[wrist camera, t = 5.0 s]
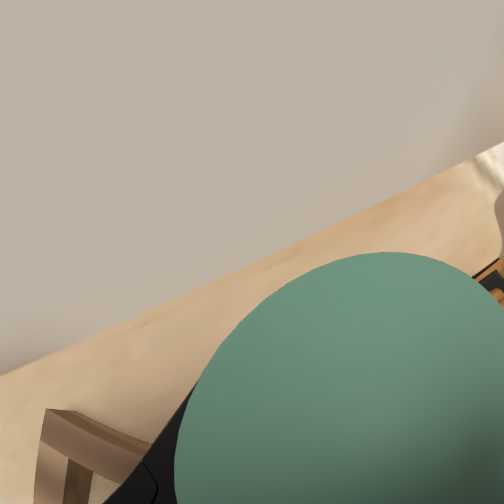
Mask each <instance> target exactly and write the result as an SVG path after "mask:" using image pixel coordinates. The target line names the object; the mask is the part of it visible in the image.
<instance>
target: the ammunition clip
mask: <svg viewBox="0 0 504 504" xmlns="http://www.w3.org/2000/svg"><path fill="white" fill-rule="evenodd" d="M471 278H473V279H474V280H476V281H477V282H478V283H479V284H480V285H482V286H483V287H484V288H485V289H486V290H487V291H488V292H489V293H490V294H491V295H492V296H493V297H494V298H495V299H496V300H497V301H498V303H499V304H500V305H501V306H502V307H503V309H504V256H503V257H502V258H501V259H500V258H497V259H496V260H495V261H493V262H492V263H491V264H489V265H488V266H487V267H485V268H484V269H482V270H481V271H480V272H478V273H477V274H475V275H474V276H473V277H471Z"/></svg>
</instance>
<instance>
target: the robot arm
mask: <svg viewBox="0 0 504 504" xmlns="http://www.w3.org/2000/svg"><path fill="white" fill-rule="evenodd" d="M197 383H198V381H197V382H196V384H195V385H194V387H193V388H192V390H191V391H190V392H189V394H188V395H187V397H186V398H185V400H184V401H183V402H182V404H181V405H180V407H179V408H178V409H177V411H176V412H175V414H174V415H173V416H172V418H171V419H170V421H169V422H168V423H167V425H166V426H165V427H164V429H163V430H162V432H161V433H160V434H159V436H158V437H157V438H156V440H155V441H154V443H153V444H152V445H151V447H150V448H149V449H148V451H147V452H146V453H145V455H144V456H143V457H142V459H141V460H142V461H139V463H138V464H137V465H136V467H135V468H134V469H133V471H132V472H131V473H130V474H129V476H128V477H127V478H126V479H125V480H124V482H123V483H122V484H121V485H120V486H119V487H118V488H117V489H116V491H115V492H114V493H113V494H112V495H111V496H110V497H109V498H108V499H107V500H106V501H105V502H104V503H103V504H177V498H176V493H175V487H174V458H175V452H176V446H177V440H178V434H179V429H180V426H181V423H182V419H183V416H184V413H185V410H186V407H187V404H188V401H189V399H190V397H191V395H192V393H193V391H194V389H195V387H196V385H197Z"/></svg>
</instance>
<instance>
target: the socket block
mask: <svg viewBox="0 0 504 504" xmlns="http://www.w3.org/2000/svg"><path fill="white" fill-rule="evenodd" d="M150 447H151V444H148V443H145V442H143V441H140V440H137V439H135V438H132V437H130V436H127V435H125V434H123V433H120V432H118V431H116V430H113V429H111V428H109V427H107V426H105V425H102V424H100V423H98V422H96V421H94V420H92V419H90V418H88V417H86V416H84V415H82V414H80V413H78V412H76V411H66V410H55V409H46V411H45V416H44V421H43V426H42V432H41V437H40V443H39V450H38V457H37V465H36V474H35V486H34V503H33V504H88V498H89V491H90V484H91V478H92V472H95V473H97V474H99V475H101V476H103V477H105V478H107V479H109V480H112V481H114V482H116V483H118V484H120V485H121V484H122V483H123V482H124V480H125V479H126V478H127V477H128V476H129V474H130V473H131V472H132V471H133V469H134V468H135V467H136V465H137V464H138V463H139V461H142V460H141V459H142V457H143V456H144V455H145V453H146V452H147V451H148V449H149V448H150Z"/></svg>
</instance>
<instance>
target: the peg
mask: <svg viewBox="0 0 504 504" xmlns="http://www.w3.org/2000/svg"><path fill="white" fill-rule="evenodd" d="M174 487H175V493H176V498H177V504H504V309H503V307H502V306H501V305H500V304H499V303H498V301H497V300H496V299H495V298H494V297H493V296H492V295H491V294H490V293H489V292H488V291H487V290H486V289H485V288H484V287H483V286H482V285H480V284H479V283H478V282H477V281H476V280H474V279H473V278H471V277H470V276H468V275H467V274H465V273H464V272H462V271H461V270H459V269H457V268H455V267H452V266H450V265H448V264H446V263H444V262H441V261H438V260H435V259H432V258H429V257H425V256H421V255H415V254H409V253H396V252H379V253H370V254H361V255H356V256H352V257H348V258H344V259H340V260H336V261H334V262H331V263H329V264H326V265H323V266H321V267H318V268H316V269H313V270H311V271H309V272H307V273H306V274H304V275H302V276H300V277H298V278H296V279H294V280H293V281H291V282H289V283H287V284H286V285H285V286H283V287H282V288H280V289H279V290H278V291H276V292H275V293H273V294H272V295H271V296H269V297H268V298H266V299H265V300H264V301H263V302H261V303H260V304H259V305H258V306H257V307H256V308H255V309H254V310H253V311H252V312H250V313H249V314H248V315H247V316H246V317H245V318H244V319H243V320H242V321H241V322H240V323H239V324H238V325H237V326H236V328H235V329H234V330H233V331H232V332H231V333H230V335H229V336H228V337H227V338H226V339H225V340H224V342H223V343H222V344H221V345H220V347H219V348H218V350H217V351H216V353H215V354H214V356H213V357H212V359H211V360H210V362H209V363H208V365H207V366H206V368H205V369H204V371H203V372H202V374H201V376H200V378H199V380H198V383H197V385H196V387H195V389H194V391H193V393H192V395H191V397H190V399H189V401H188V404H187V407H186V410H185V413H184V416H183V419H182V423H181V426H180V429H179V434H178V440H177V446H176V452H175V458H174Z"/></svg>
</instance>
